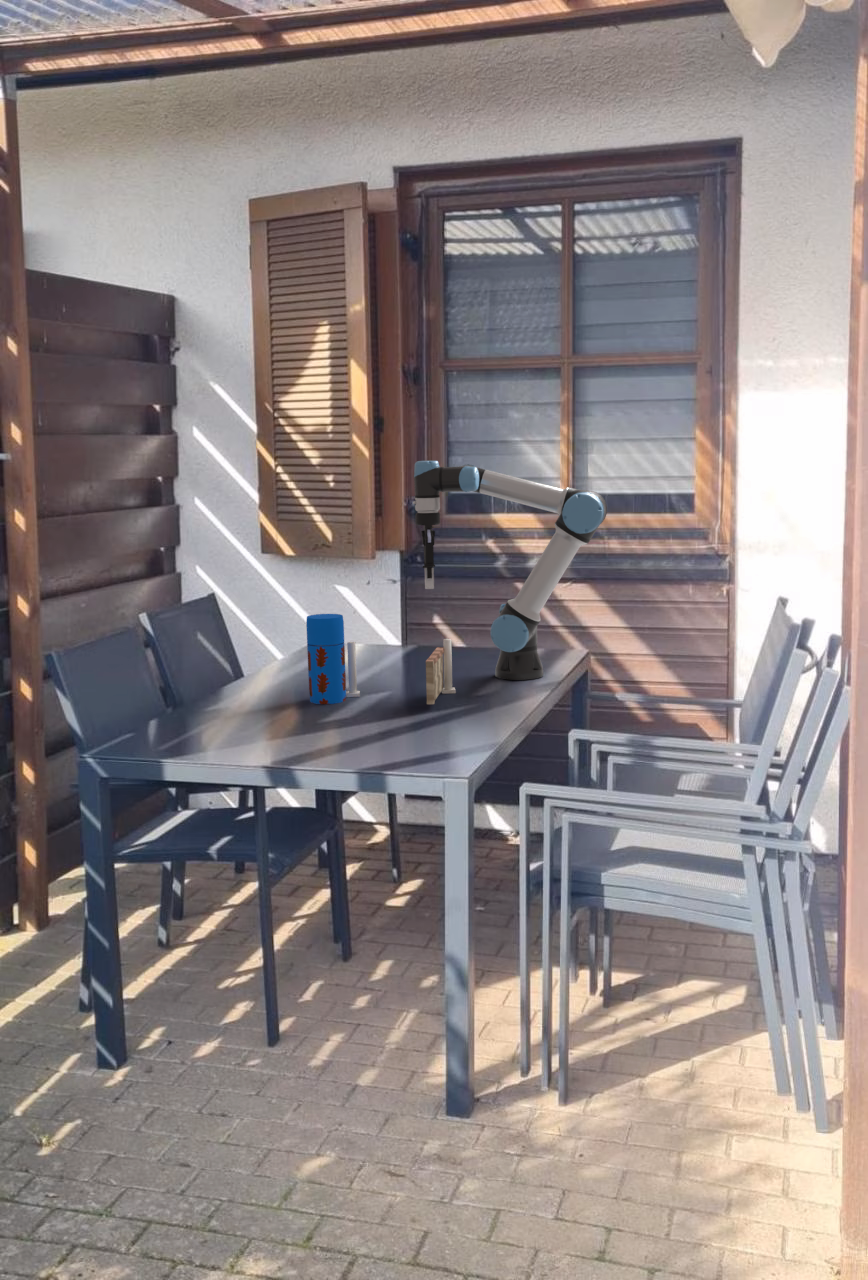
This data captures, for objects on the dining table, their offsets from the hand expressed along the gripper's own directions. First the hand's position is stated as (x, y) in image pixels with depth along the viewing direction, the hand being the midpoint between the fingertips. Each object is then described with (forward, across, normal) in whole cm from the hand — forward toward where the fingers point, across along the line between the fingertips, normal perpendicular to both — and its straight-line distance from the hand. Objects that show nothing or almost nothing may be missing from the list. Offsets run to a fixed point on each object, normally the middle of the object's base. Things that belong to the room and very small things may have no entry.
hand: (429, 588), depth 424 cm
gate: (+28, +28, 0) cm, 40 cm away
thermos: (+30, +22, -32) cm, 49 cm away
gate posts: (+29, +16, -10) cm, 35 cm away
